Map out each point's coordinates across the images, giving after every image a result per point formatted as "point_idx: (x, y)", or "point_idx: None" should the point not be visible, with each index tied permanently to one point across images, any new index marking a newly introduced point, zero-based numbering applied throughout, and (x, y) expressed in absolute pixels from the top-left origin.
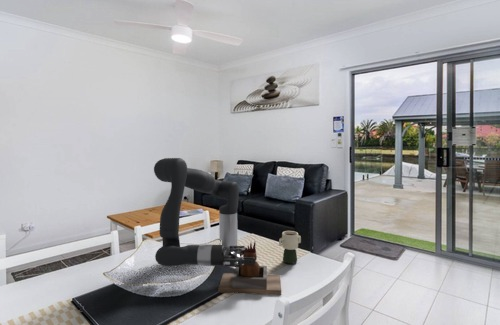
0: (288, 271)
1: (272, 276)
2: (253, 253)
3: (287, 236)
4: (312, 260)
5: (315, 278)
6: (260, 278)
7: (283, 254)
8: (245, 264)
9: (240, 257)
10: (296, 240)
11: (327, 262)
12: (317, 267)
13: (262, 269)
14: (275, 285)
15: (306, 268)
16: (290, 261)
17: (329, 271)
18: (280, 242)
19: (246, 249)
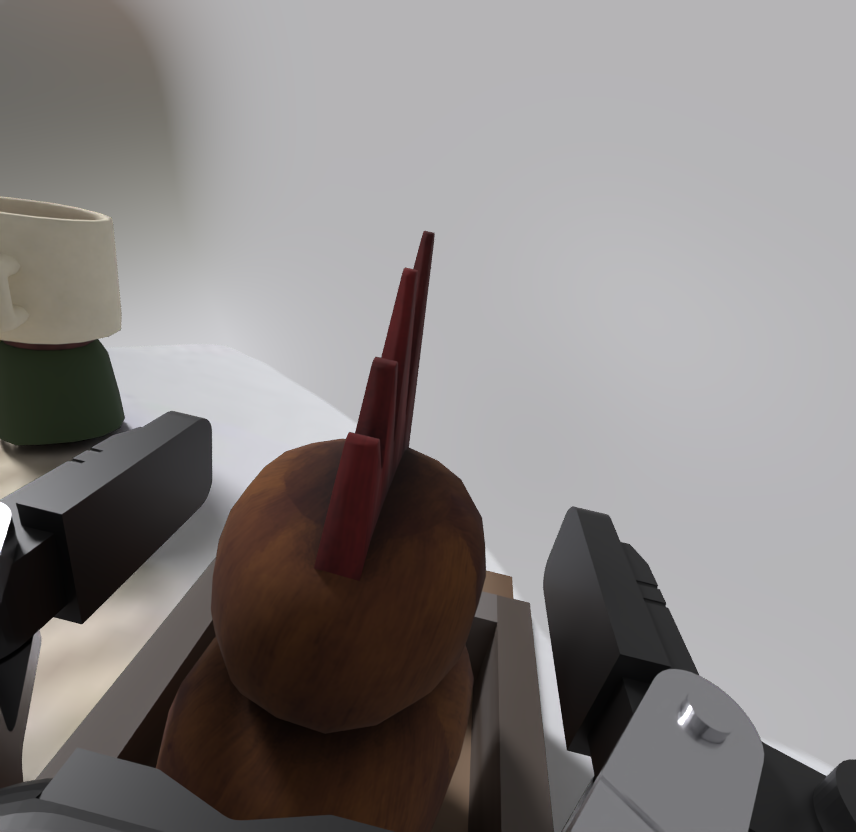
0: None
1: None
2: (443, 467)
3: (66, 230)
4: (142, 372)
5: (338, 427)
6: (519, 652)
7: (12, 398)
8: (409, 750)
9: (716, 770)
10: (116, 261)
11: (205, 356)
12: (232, 387)
13: None
14: None
15: (215, 413)
16: (108, 420)
17: (292, 381)
18: (8, 297)
19: (375, 482)
